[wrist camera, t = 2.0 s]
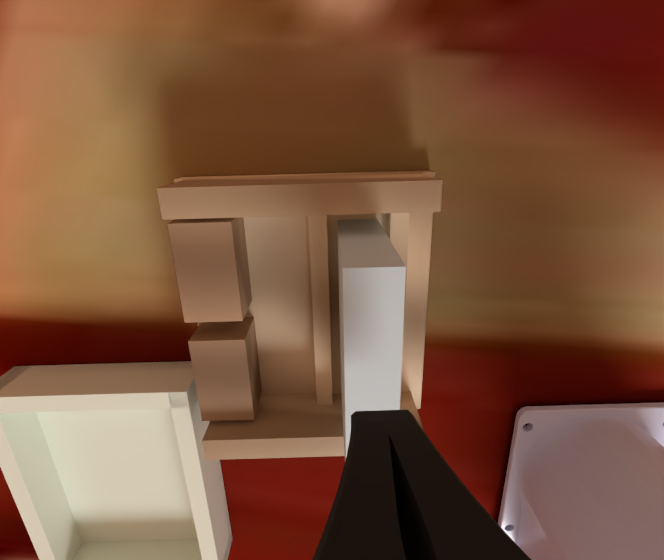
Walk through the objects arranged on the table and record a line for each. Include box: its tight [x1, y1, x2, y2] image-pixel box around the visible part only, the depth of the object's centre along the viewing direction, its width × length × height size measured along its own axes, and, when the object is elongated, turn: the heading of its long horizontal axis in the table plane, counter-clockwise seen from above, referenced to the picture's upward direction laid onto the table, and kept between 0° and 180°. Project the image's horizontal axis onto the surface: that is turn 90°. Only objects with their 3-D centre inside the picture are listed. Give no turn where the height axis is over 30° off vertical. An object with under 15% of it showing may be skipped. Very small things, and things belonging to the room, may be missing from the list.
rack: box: [157, 170, 443, 460], centre depth 16 cm, size 11×10×4 cm
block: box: [337, 219, 406, 461], centre depth 14 cm, size 8×2×6 cm, turn 1°
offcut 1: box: [167, 217, 252, 323], centre depth 15 cm, size 4×2×2 cm, turn 1°
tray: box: [0, 361, 233, 560], centre depth 20 cm, size 12×9×2 cm
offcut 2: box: [188, 317, 262, 421], centre depth 17 cm, size 4×2×2 cm, turn 1°
